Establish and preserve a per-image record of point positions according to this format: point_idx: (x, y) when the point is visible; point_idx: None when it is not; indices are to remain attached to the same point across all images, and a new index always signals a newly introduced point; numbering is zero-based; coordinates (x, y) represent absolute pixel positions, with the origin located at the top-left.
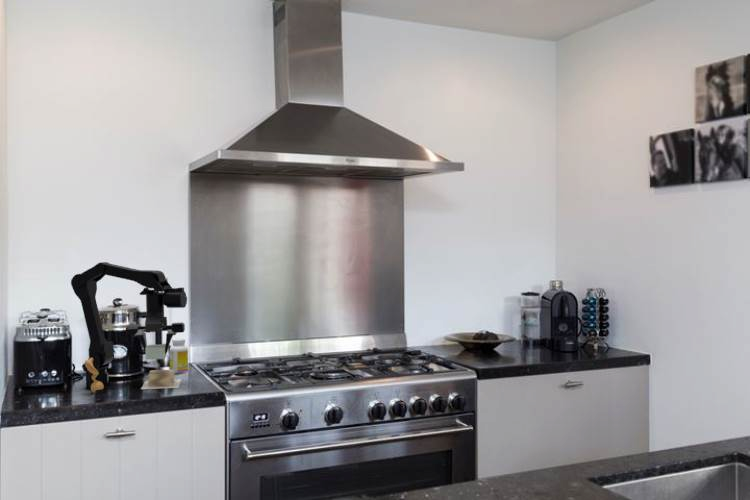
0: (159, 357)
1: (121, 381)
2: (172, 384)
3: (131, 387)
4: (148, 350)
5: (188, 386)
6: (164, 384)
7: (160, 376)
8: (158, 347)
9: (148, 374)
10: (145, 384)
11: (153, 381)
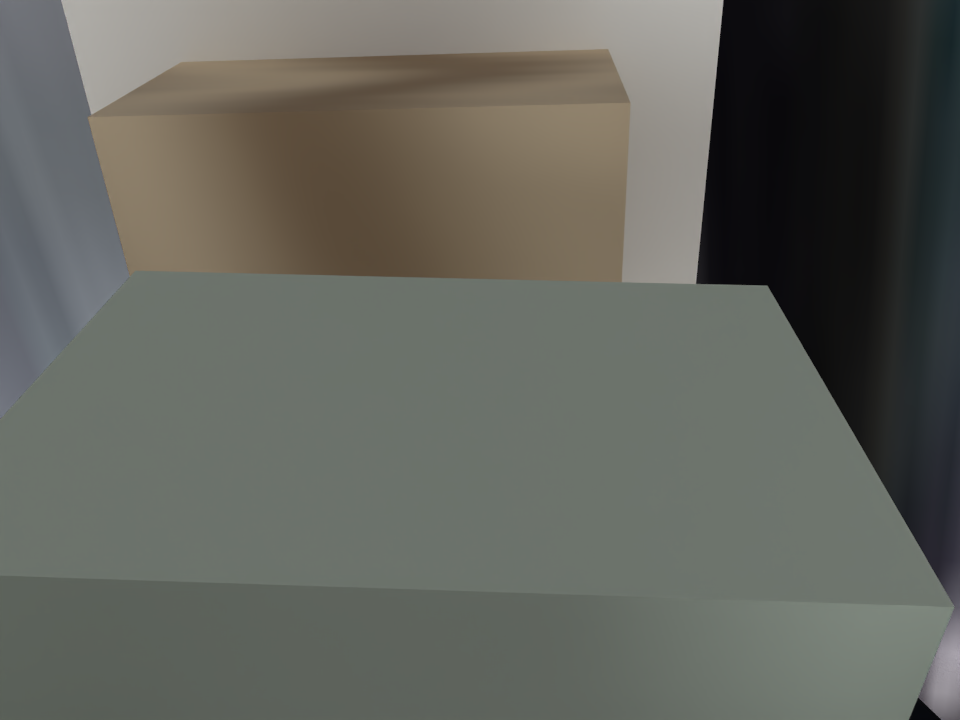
0: (278, 295)
1: (951, 683)
2: (177, 65)
3: (854, 367)
4: (732, 490)
5: (59, 297)
6: (316, 63)
7: (360, 99)
8: (182, 564)
9: (623, 166)
10: (663, 262)
11: (511, 73)
